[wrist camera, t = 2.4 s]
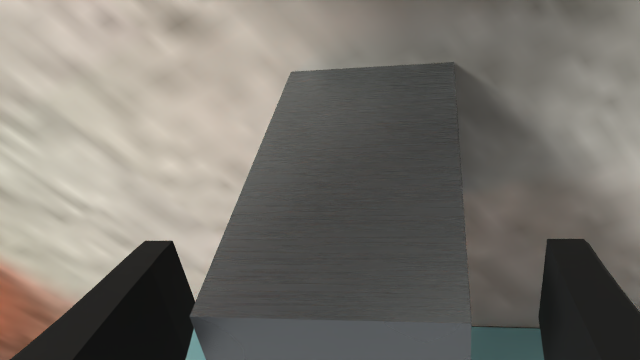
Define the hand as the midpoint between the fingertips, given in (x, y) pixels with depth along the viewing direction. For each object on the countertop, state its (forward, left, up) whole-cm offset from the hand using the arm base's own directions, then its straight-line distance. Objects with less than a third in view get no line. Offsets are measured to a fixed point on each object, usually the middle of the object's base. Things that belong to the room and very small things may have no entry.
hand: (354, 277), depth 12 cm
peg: (0, 0, -5) cm, 5 cm away
